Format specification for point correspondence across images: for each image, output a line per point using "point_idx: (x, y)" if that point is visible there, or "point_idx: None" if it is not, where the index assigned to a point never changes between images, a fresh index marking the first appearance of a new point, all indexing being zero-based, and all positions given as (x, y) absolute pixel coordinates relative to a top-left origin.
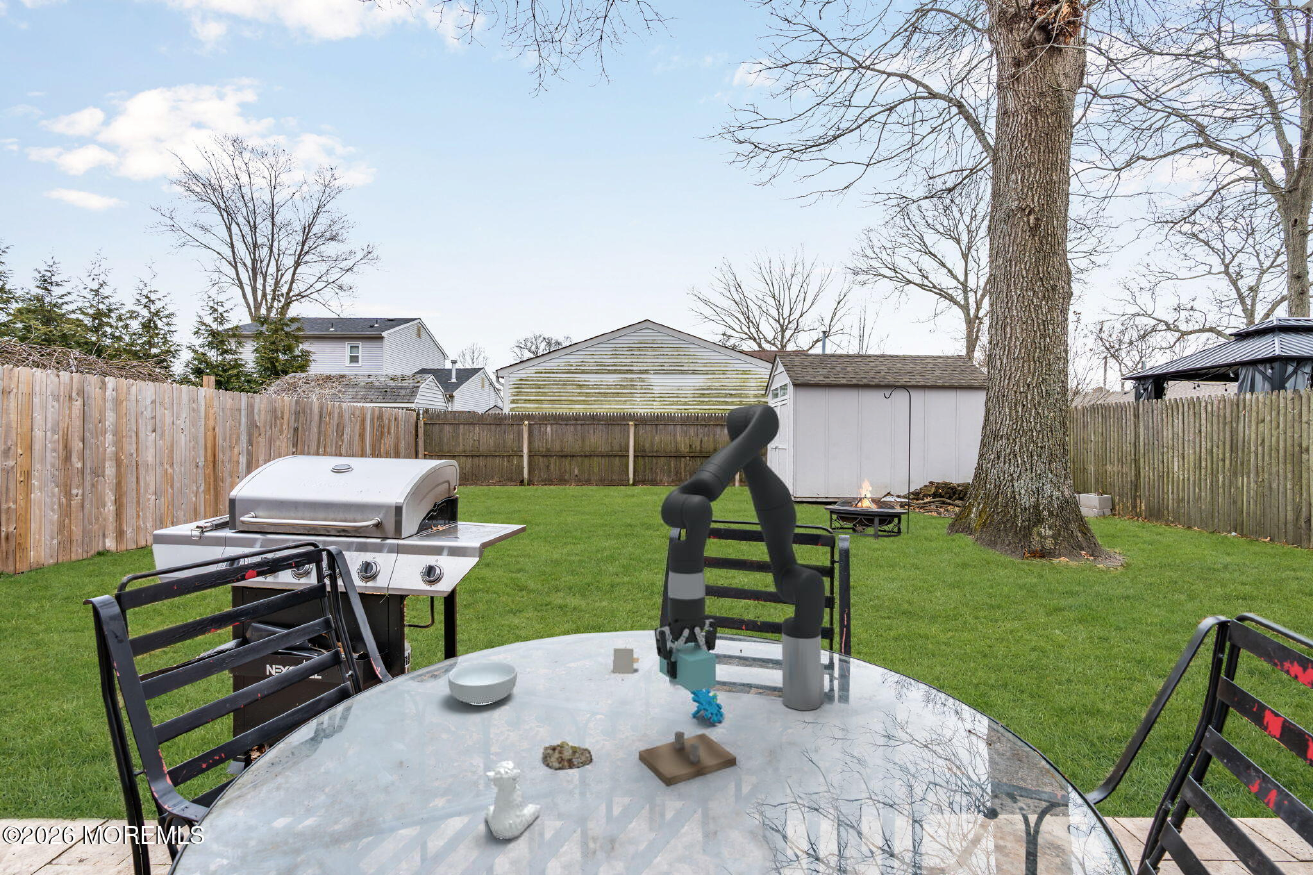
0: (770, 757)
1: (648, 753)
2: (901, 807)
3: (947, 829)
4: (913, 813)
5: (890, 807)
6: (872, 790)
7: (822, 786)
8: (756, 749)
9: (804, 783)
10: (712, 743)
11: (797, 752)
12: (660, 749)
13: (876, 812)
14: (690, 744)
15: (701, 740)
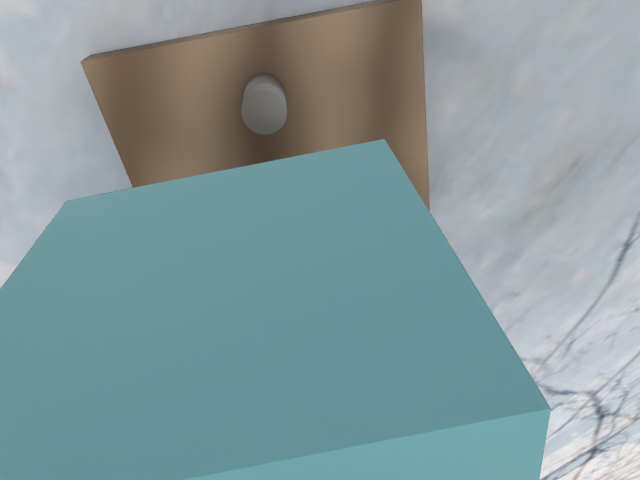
0: (542, 199)
1: (123, 94)
2: (612, 423)
3: (613, 470)
4: (611, 437)
5: (595, 420)
6: (622, 377)
7: (546, 345)
8: (542, 140)
9: (521, 327)
10: (405, 104)
11: (635, 198)
12: (181, 78)
13: (560, 425)
14: (318, 80)
15: (376, 63)
